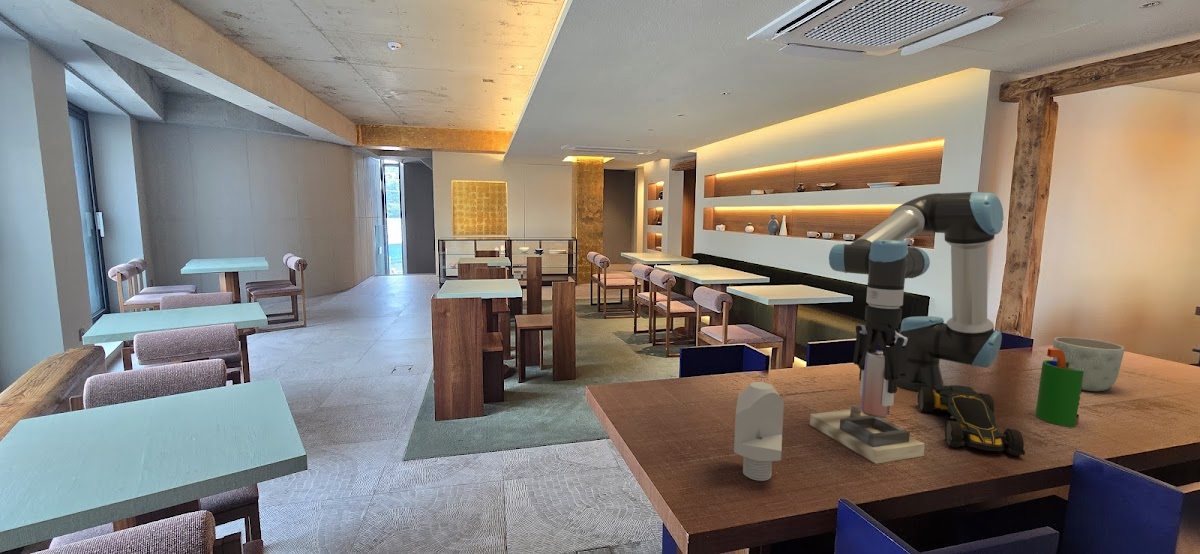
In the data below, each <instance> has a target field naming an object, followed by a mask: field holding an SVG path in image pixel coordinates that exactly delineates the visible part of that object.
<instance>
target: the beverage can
mask: <svg viewBox="0 0 1200 554" xmlns="http://www.w3.org/2000/svg"><path fill="white" fill-rule="evenodd" d="M885 377H887V374H886V368H885V356H883V351H882V350H878V349H877V350H876V351H872V352H868V351H867V354H866V356H865V367H864V379H863V391H862V396H861V405H860V407H861V412H862V414H865V415H867V416H872V417H877V418H882V419H883V418H886V417H888V416H889V415H890V411H891V409H890V408H891V406H882V393H883V381H884V378H885Z"/></svg>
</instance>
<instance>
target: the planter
mask: <svg viewBox="0 0 1200 554" xmlns="http://www.w3.org/2000/svg"><path fill="white" fill-rule="evenodd" d="M1052 342H1053V344H1052V348H1056V349H1059V350H1061V351H1063V353H1064V355H1065V359H1066V362H1069V367H1068V368H1071V369H1076V370H1081V371H1084V376H1083V382H1082V388H1081V391H1085V392H1086V391H1087V392H1088V391H1089V392H1101V391H1102V392H1103V391H1106V390H1108V389H1110V388H1112V387H1113V386H1114V385H1115V383H1116V382H1117V380H1118V377H1119V373H1120V370H1121V365H1122V361H1123V358H1124V353H1125V347H1124V346H1123V345H1121V344H1118V343H1115V342H1114V343H1113V342H1111V341H1110V342H1109V341H1105V340H1100V339H1091V338H1085V337H1075V336H1057V337H1054V338H1053V341H1052ZM1052 360H1056V361H1057V357H1052Z"/></svg>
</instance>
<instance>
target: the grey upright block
mask: <svg viewBox="0 0 1200 554" xmlns="http://www.w3.org/2000/svg"><path fill="white" fill-rule="evenodd" d="M784 407H785V400H784V399H783V397H781V395H780V394H779V392H778V391H777V390H776V389H775V387H774V386H773V385H772V384H770V383H767V382H765V381H763V382H762V381H754V382H751V383H749V385H748V386H747V387H745V388H744V389H743V390H742V391H741V393H739V394H738V396H737V401H736V409H735V416H734V417H735V419H734V421H735V422H734V438H733V439H734V440H733V441H734V442H733V453H735V454H736V455H739V456H741V457H743V460H742V461H743V463H742V464H743V465H742V473H743V475H744V476H745V477H747V478H749V479H751V480H754V481H759V482H765V481H768V480H769V479H771V477H772V474H773V473H772V470H773V462H778V461H782V449H783V447H782V445H783V429H784V428H783V427H784V409H785V408H784Z"/></svg>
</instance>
